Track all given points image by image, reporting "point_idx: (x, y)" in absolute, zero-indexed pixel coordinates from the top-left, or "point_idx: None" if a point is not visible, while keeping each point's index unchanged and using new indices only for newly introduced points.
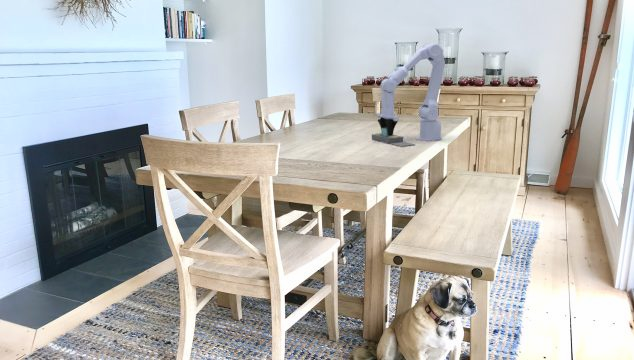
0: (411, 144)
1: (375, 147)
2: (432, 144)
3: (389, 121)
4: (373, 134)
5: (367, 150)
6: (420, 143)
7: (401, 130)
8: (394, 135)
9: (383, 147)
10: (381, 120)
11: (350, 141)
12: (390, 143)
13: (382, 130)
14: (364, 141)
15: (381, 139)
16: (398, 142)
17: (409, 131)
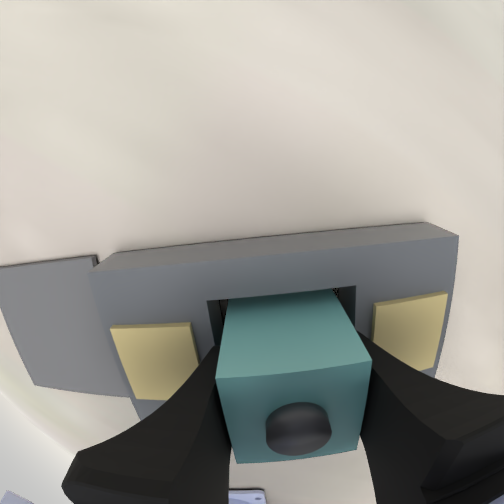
0: (30, 364)
1: (44, 74)
2: (74, 454)
3: (64, 482)
4: (444, 249)
5: (6, 7)
6: None
7: None
8: None
9: (19, 139)
10: (431, 464)
11: (431, 13)
12: (87, 258)
13: (329, 344)
14: (391, 108)
15: (245, 246)
16: None
17: None
